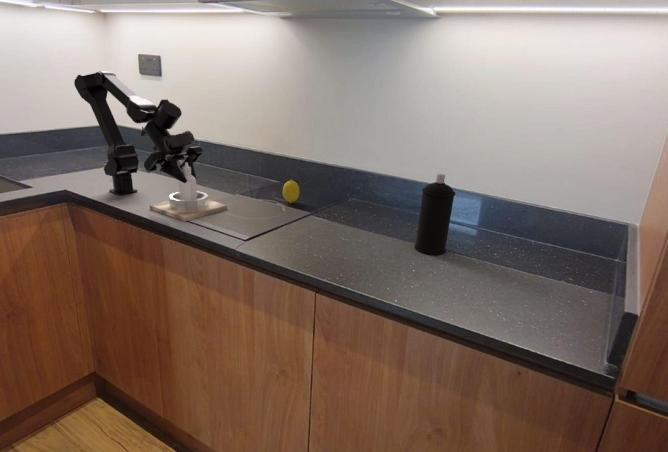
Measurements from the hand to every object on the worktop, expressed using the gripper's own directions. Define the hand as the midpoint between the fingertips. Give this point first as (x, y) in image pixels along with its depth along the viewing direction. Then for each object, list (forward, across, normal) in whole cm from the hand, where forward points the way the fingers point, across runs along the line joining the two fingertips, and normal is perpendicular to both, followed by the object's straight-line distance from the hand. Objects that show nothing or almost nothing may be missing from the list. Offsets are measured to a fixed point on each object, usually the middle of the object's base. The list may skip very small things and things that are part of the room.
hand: (190, 181), depth 127 cm
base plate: (+6, 0, +7) cm, 9 cm away
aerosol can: (+56, +14, -44) cm, 73 cm away
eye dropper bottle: (+4, 0, +6) cm, 7 cm away
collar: (+5, 0, +6) cm, 8 cm away
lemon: (+20, +25, -8) cm, 33 cm away
